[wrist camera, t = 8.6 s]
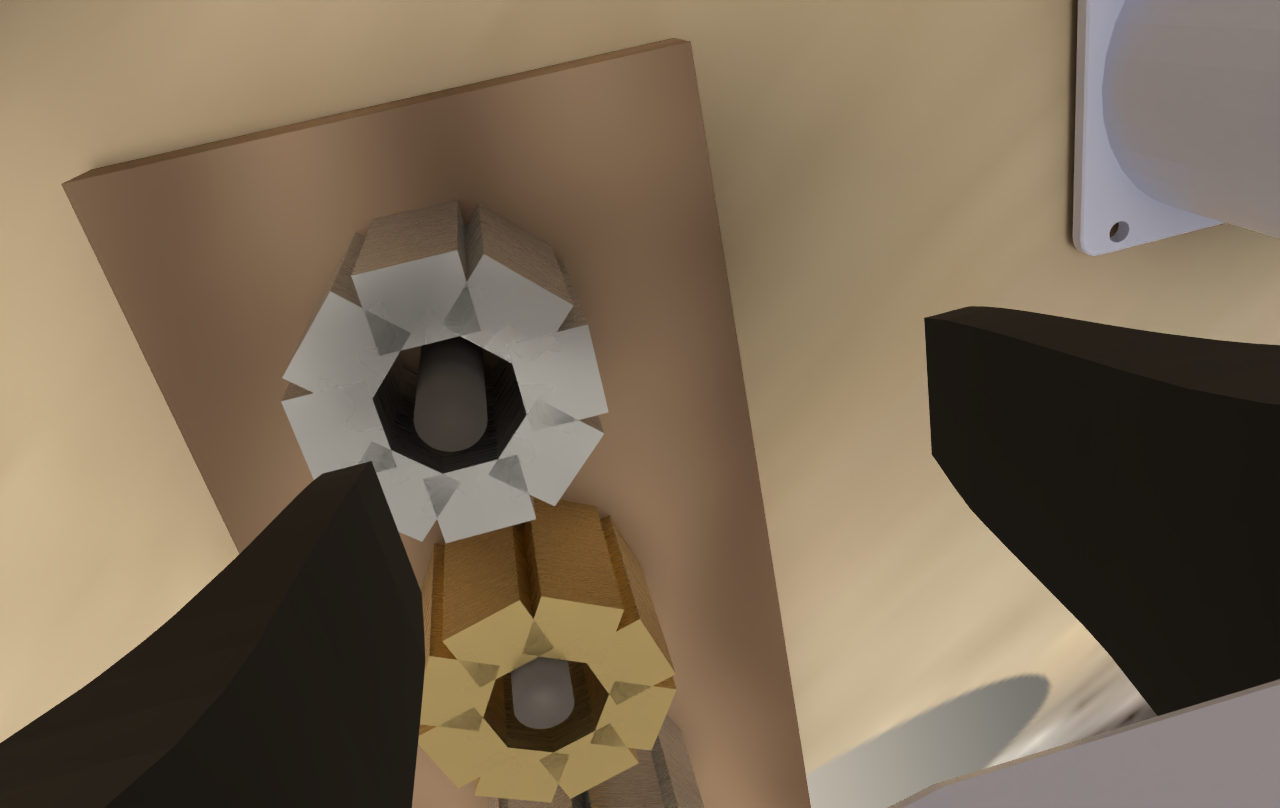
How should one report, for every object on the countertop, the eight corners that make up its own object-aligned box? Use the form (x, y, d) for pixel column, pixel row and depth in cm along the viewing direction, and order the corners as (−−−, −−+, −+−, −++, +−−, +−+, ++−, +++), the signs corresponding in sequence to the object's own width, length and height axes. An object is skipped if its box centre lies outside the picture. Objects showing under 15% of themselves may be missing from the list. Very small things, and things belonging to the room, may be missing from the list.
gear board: (673, 38, 19) (760, 55, 13) (794, 771, 28) (872, 952, 23) (91, 169, 18) (-68, 245, 12) (422, 883, 27) (412, 1099, 22)
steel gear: (543, 178, 18) (563, 224, 14) (597, 406, 20) (628, 494, 17) (284, 239, 18) (239, 302, 14) (370, 465, 20) (350, 568, 16)
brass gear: (664, 519, 22) (704, 622, 18) (601, 686, 24) (626, 809, 20) (452, 478, 20) (450, 581, 17) (401, 659, 22) (390, 788, 19)
